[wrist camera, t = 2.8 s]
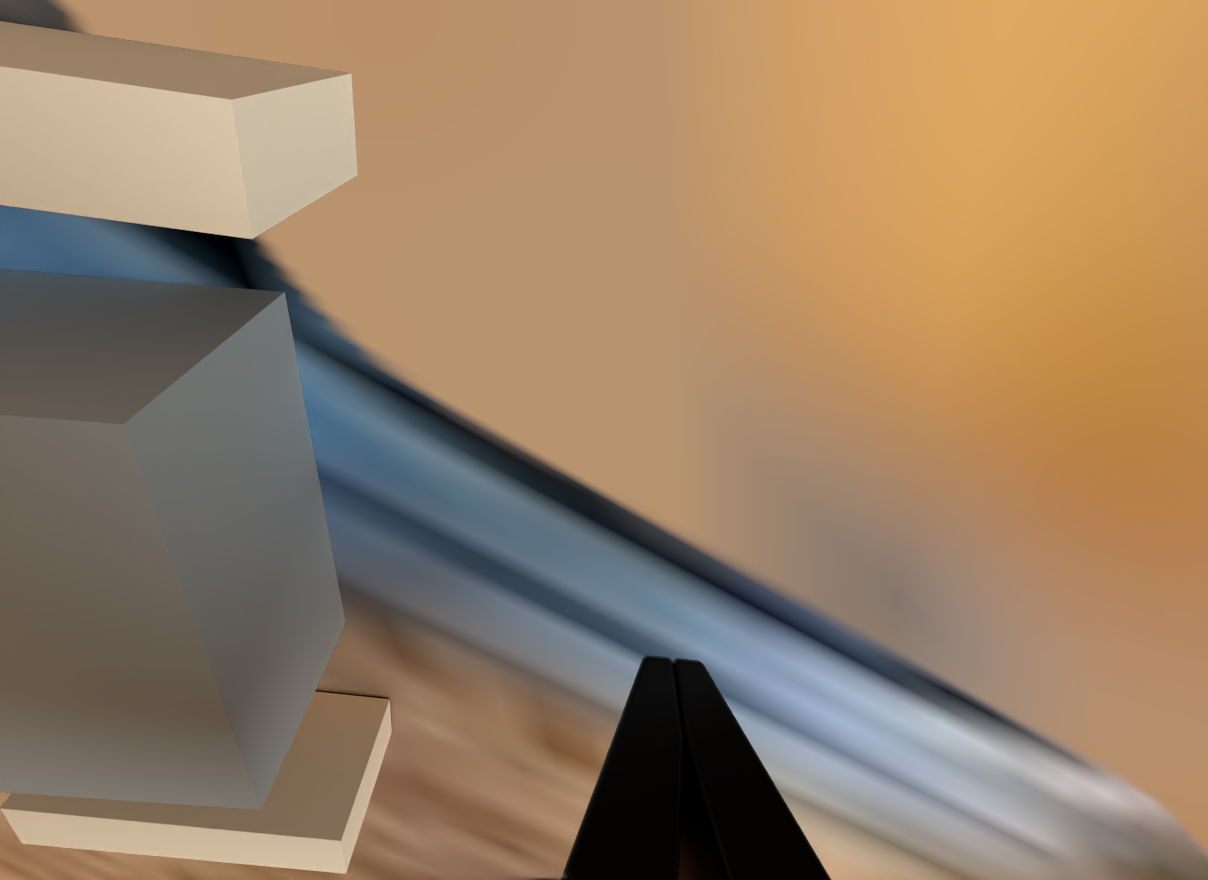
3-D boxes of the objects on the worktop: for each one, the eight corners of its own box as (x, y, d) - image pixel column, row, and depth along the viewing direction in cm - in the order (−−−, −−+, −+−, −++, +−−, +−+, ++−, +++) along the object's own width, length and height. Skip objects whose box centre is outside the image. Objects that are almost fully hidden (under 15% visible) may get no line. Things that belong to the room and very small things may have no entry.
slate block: (291, 286, 10) (122, 424, 7) (349, 615, 14) (260, 810, 10) (-186, 247, 10) (-600, 367, 7) (3, 590, 14) (-200, 778, 10)
